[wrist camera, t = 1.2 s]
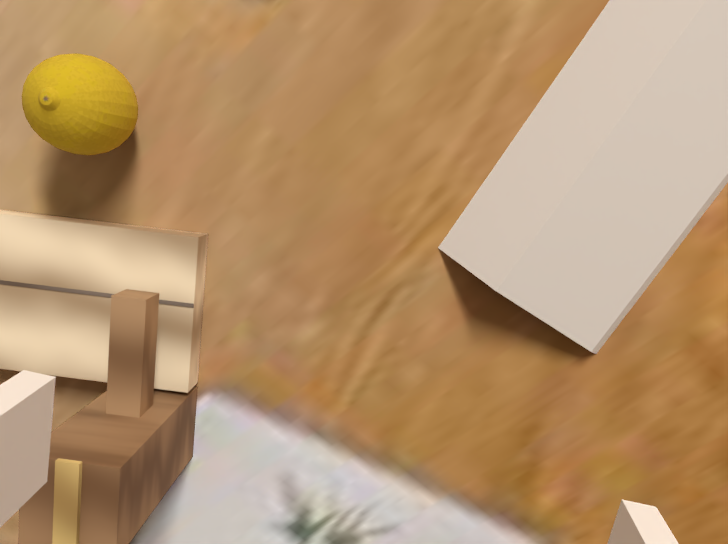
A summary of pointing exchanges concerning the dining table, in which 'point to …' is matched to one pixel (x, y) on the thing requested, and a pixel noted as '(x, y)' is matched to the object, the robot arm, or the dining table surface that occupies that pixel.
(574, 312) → the crown molding
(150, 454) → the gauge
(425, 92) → the dining table surface
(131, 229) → the board
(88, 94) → the lemon
